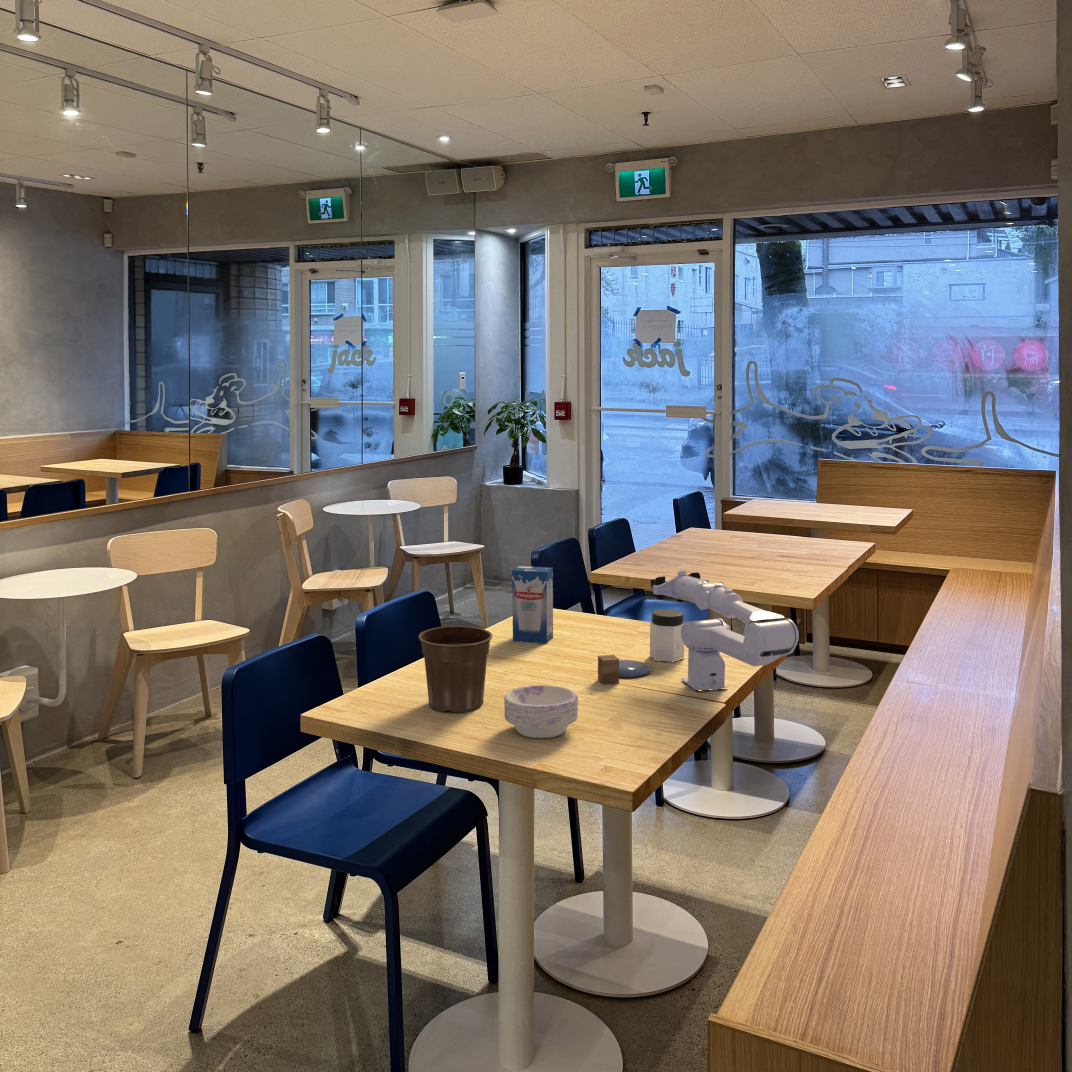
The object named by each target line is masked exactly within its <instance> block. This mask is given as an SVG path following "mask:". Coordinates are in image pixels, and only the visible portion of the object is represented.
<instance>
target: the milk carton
mask: <svg viewBox="0 0 1072 1072" xmlns="http://www.w3.org/2000/svg"><path fill="white" fill-rule="evenodd" d="M553 569H554V568H553V567H548V566H547V567H543V566H529V565H528V566H526V565H518V566H516V567H515V568H513V569H512V570H511V578H512V579H511V584H512V585H511V589H512V591H511V592H512V593H511V594H512V595H511V596H512V597H511V599H512V600H511V601H512V604H511V605H512V642H520V641H522V642H523V643H524V642H525V643H534V642H537V643H536V644H548V643H550V641H551V640H552V639H553V638H554V587H553V586H554V578H553V577H554V573H553V572H554V570H553ZM522 642H521V643H522ZM547 642H548V643H547Z"/></svg>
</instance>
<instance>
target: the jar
mask: <svg viewBox="0 0 1072 1072" xmlns="http://www.w3.org/2000/svg"><path fill="white" fill-rule="evenodd" d="M684 617H685V616H684V613H683V612H682V611H680V610H677V609H671V608H670V609H668V608H666V609H657V610H653V611H652V612H651V621H650V622H649V623H650V624H649V627H650V628H649V657H650V656H651V657H650V658H651V659H653V658H654V659H655V660H659V661H658V662H661V661H675V660H678V659H680V658H683V657H684V658H685V644H684V643H683V641H682V638H681V628H682V625H683V623H684ZM654 659H653V660H654ZM655 660H654V661H655Z"/></svg>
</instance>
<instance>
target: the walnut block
mask: <svg viewBox="0 0 1072 1072" xmlns="http://www.w3.org/2000/svg"><path fill="white" fill-rule="evenodd" d="M619 660H620V658H618V657H617V656H616V655H615V654H606V655H605V654H604V655H597V681H598V682H600V684H602V685H603V684H606V685H616V684H615V683H618V684H619V683H620V677H619Z"/></svg>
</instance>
